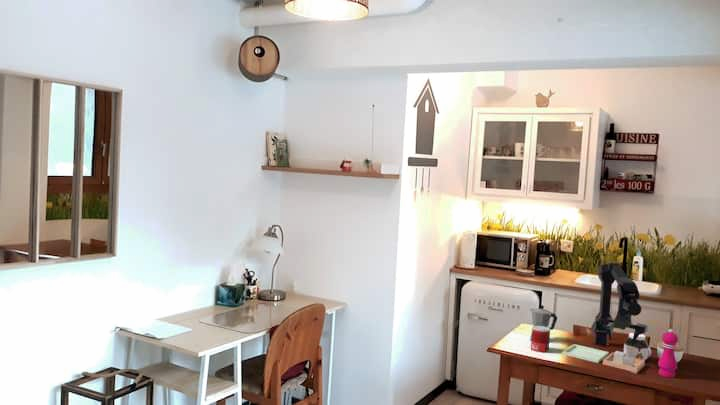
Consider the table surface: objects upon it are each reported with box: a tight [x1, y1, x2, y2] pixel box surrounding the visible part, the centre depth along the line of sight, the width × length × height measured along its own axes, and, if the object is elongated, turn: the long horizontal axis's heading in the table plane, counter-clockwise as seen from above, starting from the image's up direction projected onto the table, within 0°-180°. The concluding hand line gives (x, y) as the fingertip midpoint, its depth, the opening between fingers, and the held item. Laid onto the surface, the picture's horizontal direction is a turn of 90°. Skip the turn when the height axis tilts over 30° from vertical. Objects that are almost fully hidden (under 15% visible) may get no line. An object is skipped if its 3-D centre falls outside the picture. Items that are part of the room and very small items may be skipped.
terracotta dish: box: [602, 352, 646, 375], centre depth 265 cm, size 14×14×2 cm
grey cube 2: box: [623, 356, 635, 367], centre depth 261 cm, size 4×4×4 cm
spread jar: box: [623, 332, 652, 361], centre depth 275 cm, size 12×11×12 cm
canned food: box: [530, 325, 551, 353], centre depth 279 cm, size 8×8×11 cm
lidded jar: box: [656, 341, 685, 363], centre depth 273 cm, size 11×11×9 cm
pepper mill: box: [657, 328, 679, 378], centre depth 255 cm, size 7×7×20 cm
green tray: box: [561, 344, 610, 364], centre depth 276 cm, size 16×16×2 cm
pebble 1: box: [613, 350, 626, 364], centre depth 268 cm, size 4×4×4 cm
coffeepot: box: [529, 305, 558, 341], centre depth 294 cm, size 15×9×18 cm, turn 37°
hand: (621, 343), depth 268 cm, fingers open, 9 cm apart
